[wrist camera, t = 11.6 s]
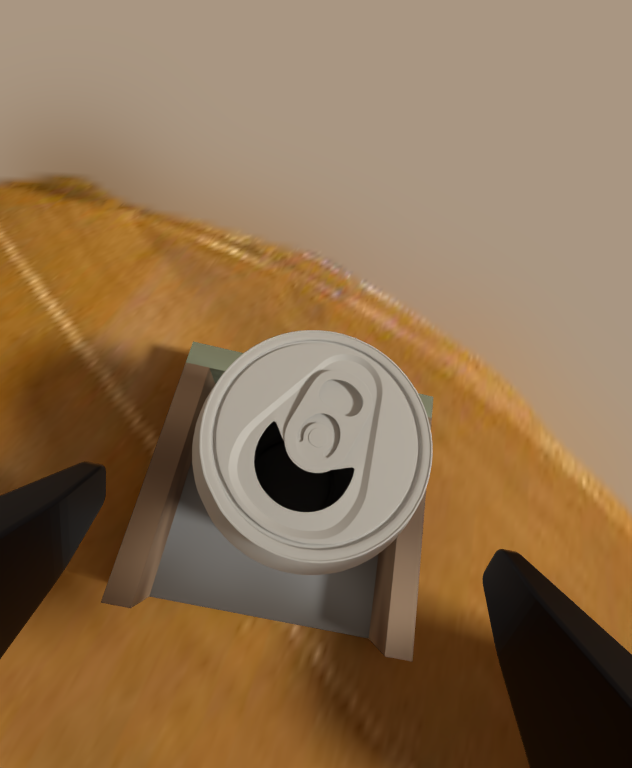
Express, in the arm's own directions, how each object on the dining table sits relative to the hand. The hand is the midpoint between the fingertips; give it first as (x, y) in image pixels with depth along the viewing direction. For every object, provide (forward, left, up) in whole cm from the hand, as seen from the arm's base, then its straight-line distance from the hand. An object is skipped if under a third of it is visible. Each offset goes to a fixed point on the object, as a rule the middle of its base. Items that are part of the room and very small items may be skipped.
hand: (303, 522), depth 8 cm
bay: (+2, 0, -12) cm, 12 cm away
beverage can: (+2, 0, -12) cm, 12 cm away
